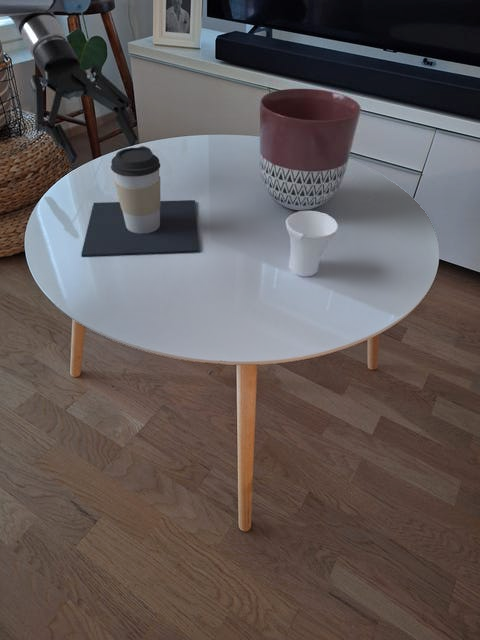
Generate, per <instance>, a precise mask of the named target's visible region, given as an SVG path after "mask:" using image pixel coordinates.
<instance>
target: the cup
mask: <svg viewBox="0 0 480 640" xmlns="http://www.w3.org/2000/svg"><path fill="white" fill-rule="evenodd" d="M285 226H286V227H285V228H286V231H287V233H288V235H289V242H290V252H289V260H288V265H287V266H288V269H289V271H290V272H291V274H292V275H295V276H297V277H301V278H307V277H313V276H314V275H316V273H318V271H319V268H320V262H321V259H322V256H323V253H324V251H325V250H326V248H327V246H328V243H329V242H330V241H331V240H332V239H333V238H334V237H335V235H336V234H337V232H338V229H339V224H338V223H337V220H335V218H334V217H333V216H330V214H327V213H325V212H321V211H317V210H299V211H296V212H294V213H292V214H290V215H289V216H288V217H287V218H286V220H285Z"/></svg>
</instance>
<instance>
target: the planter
mask: <svg viewBox="0 0 480 640" xmlns="http://www.w3.org/2000/svg"><path fill="white" fill-rule="evenodd" d="M361 110H362V107H361V105H360V104H359V102H357V101H356V100H354V99H353V98H351V97H350V96H346V95H344V94H341V93H338V92H334V91H329V90H325V89H324V90H323V89H316V88H287V89H285V88H284V89H279V90H275V91H271V92H268V93H266V94H265V95H263V96H262V97H261V99H260V102H259V171H260V177H261V180H262V184H263V187H264V189H265V190H266V192H267V194H268V195H269V196H270V197H271V198H272V199H273V200H274V202H276V203H278V205H280V206H282V207H284V208H286V209H289V210H293V211H294V210H295V211H310V210H312V209H316V208H318V207H320V206H322V205H324V204H325V203H327V202H328V201H329V200H330V199H331V198H333V196H334V195H336V192H337V191H338V190H339V188H340V186H341V184H342V182H343V179H344V177H345V174H346V172H347V167H348V163H349V159H350V156H351V152H352V147H353V143H354V139H355V135H356V131H357V127H358V124H359V121H360V120H359V119H360V115H361Z"/></svg>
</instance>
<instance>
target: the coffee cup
mask: <svg viewBox="0 0 480 640" xmlns="http://www.w3.org/2000/svg"><path fill="white" fill-rule="evenodd" d="M110 169H111V171H112V173H113V177H114V179H113V180H114V185H115V189H116V192H117V197H118V202H120V206H121V209H122V211H123V215H124V219H125V224H126V227H127V229H128V230H129V231H131V232H134V233H140V234H144V233H150V232H153V231H155V230H157V229H158V228H159V226H160V201H161V175H160V169H161V163H160V158H159V157H158V156H157V155H155V154H154V153H153V152H152V150H151V148H150V147H147V146H144V145H142V146H138V147H127V148H122V149H121V150H118V151H117V152H116V154H115V156H113V158H112V159H111V165H110Z"/></svg>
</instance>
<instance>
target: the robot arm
mask: <svg viewBox="0 0 480 640" xmlns="http://www.w3.org/2000/svg"><path fill="white" fill-rule="evenodd" d="M91 1H92V0H0V18H3V17H8V18H10V19H11V20H12V22H13V24H14V25H15V27H16V29H17V31H18V33H19V34H20V36H21V38H22V40H23V41H24V44H25V45H26V47H27V49H28V51H29V53H30V55H31V56H32V58H33V60H34V62H35V64H36V66H37V67H38V70H39V71H40V73H41V75H42V76H43V77H39V75H37V74H33V75H32V77H31V81H30V87H31V90H32V92H33V96H34V97H33V99H34V128H35V130H36V131H37V132H42V131H44V132H45V133H46V134H47V135H49V136H50V137H51V139H52V141H53V142H54V145H55V146H56V147H58V148H60V147H61V148H62V150H63V152H64V154H65V155H66V157H67V159H68V161H69V163H70V164H73V163H75V162H76V160H77V159H78V154H77V153H76V150H75V149H74V147H73V145H72V143H71V141H70V140H69V138H68V136H67V134H66V132H65V131H64V128H63V127H62V125H61V124H60V123H57V124H56V122H57V117H58V114H59V109H60V106H61V104H62V103H61V102H62V98H65V99H66V100H70V99H73V98H80V97H82V96H84V97H85V98H88V99H92V100H93V101H95V102H97V103H98V104H100V105H101V106H103V107H104V108H107V109H108V110H110V111H111V112H113V113H115V114H116V116H115V119H116V121H117V124H118V125H119V127H120V129H121V131H122V133H123V135H124V137H125V139H126V140H127V142H128V143H129V146H130V147H133V146H135V144H136V143H137V142H138V137H137V134H136V133H135V131H134V128H133V127H132V126H133V125H134V122H133V119H132V118H131V116H130V115H129V112H128V110H129V109H130V107H131V105H132V100H131V99H130V98H129V97H128V96H127V95H126V94H125V93H123V92H122V91H121V90H120V89H119V88H118V87H117V86H116V85H115V84H114V83H112V81H111V80H109V78H107V77H106V76H105V75H104V74H103V73H102V71H101V69H99V67H98V65H96V64H93V65H92V66H91V68H88V69H85V68H83V67H82V66H81V63H80V62H79V58H78V56H77V55H76V52H75V51H74V49H73V47H72V45H71V44H70V43H69V40H68V37H67V35H66V34H65V32H64V30H63V29H62V27H61V25H60V23H59V21H58V19H57V17H56V15H55V14H54V13H55V12H61V13H67V14H72V13H73V14H75V13H77V14H79V13H80V14H81V13H85V12H86V11H87V10H88V8H89V7H90V4H91ZM46 87H47V88H48V89H50V90H52V91H53V92H54V96H53V99H52V100H53V101H52V105H51V108H50V111H49V116H48V119H47V120H45V111H44V110H45V107H44V104H45V103H44V91H45V88H46ZM86 88H88V89H86Z"/></svg>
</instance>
